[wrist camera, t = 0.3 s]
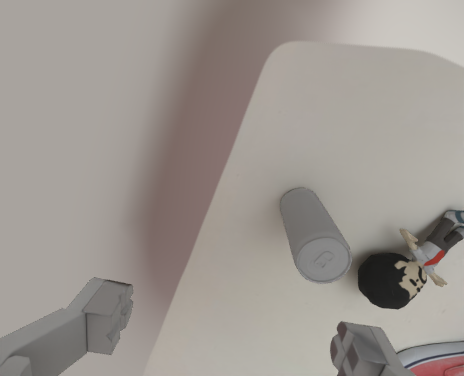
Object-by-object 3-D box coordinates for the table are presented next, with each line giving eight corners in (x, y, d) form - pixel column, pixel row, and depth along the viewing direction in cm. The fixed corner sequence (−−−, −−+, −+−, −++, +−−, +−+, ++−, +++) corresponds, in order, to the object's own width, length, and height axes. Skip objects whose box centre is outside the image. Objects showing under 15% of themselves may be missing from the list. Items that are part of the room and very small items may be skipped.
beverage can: (271, 207, 34) (283, 265, 23) (296, 178, 32) (322, 225, 21) (300, 227, 35) (325, 294, 23) (326, 200, 33) (366, 257, 22)
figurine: (497, 253, 32) (409, 342, 31) (443, 237, 38) (368, 310, 37) (462, 192, 29) (366, 286, 28) (410, 185, 36) (330, 261, 35)
